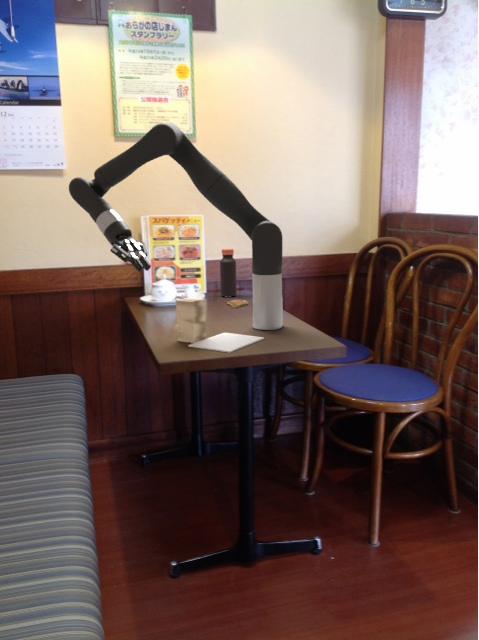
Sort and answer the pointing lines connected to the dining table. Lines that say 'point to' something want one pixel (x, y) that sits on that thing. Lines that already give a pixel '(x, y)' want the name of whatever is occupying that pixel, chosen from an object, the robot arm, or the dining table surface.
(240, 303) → the shard
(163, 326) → the dining table surface
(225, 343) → the mat
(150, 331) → the dining table surface
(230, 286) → the bottle
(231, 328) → the dining table surface
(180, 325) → the wooden block
